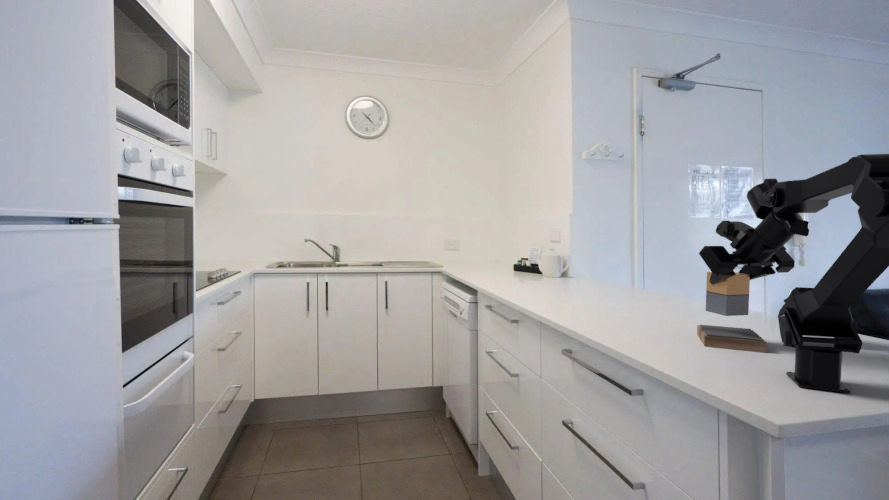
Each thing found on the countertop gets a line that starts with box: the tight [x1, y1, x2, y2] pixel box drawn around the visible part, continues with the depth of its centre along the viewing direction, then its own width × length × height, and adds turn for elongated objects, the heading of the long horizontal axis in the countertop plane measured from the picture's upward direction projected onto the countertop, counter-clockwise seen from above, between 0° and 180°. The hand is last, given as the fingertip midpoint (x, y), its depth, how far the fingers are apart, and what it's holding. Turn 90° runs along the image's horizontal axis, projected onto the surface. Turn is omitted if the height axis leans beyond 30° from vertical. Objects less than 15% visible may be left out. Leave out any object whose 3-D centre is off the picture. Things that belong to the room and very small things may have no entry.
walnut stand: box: [696, 324, 768, 353], centre depth 93 cm, size 11×11×2 cm
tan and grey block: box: [705, 271, 751, 317], centre depth 92 cm, size 6×6×9 cm
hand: (722, 282), depth 93 cm, fingers closed on tan and grey block, 6 cm apart
